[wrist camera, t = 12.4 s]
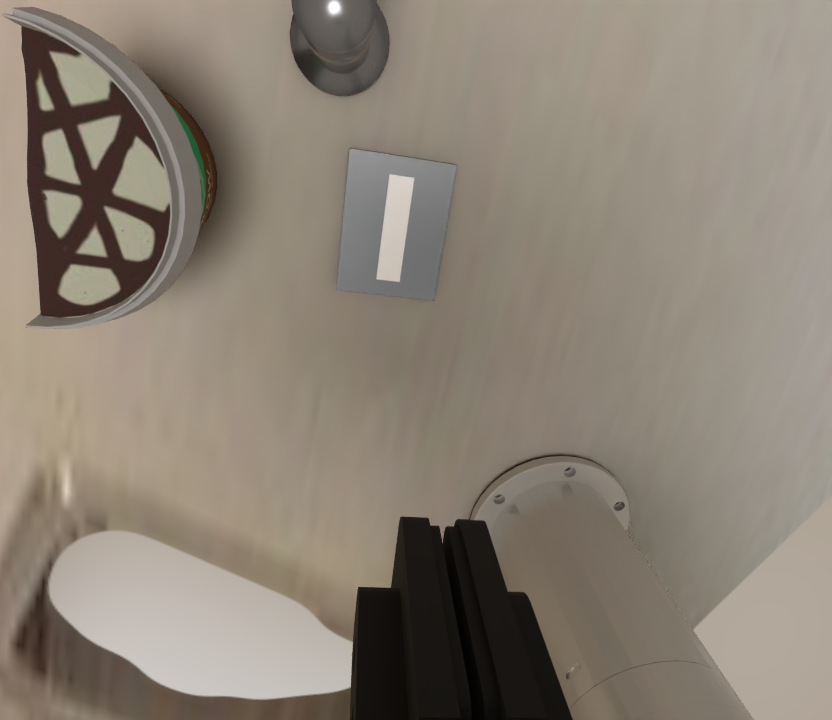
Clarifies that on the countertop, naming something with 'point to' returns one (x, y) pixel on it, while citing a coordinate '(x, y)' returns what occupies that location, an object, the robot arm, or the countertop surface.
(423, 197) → the label tile
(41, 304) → the food container
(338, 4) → the pivot post
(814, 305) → the countertop surface
